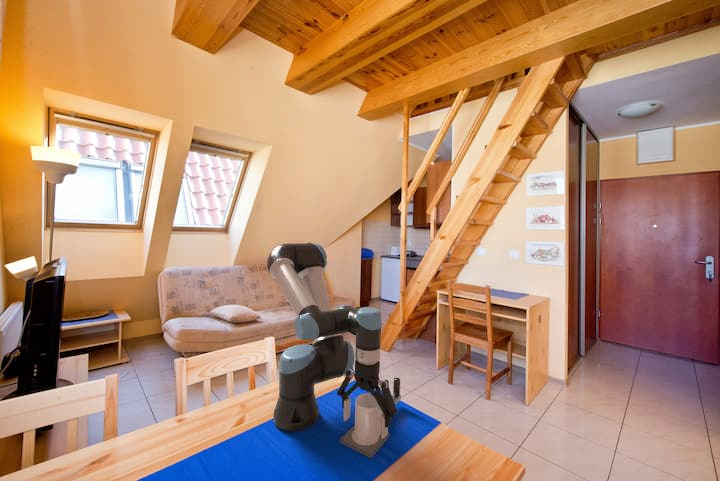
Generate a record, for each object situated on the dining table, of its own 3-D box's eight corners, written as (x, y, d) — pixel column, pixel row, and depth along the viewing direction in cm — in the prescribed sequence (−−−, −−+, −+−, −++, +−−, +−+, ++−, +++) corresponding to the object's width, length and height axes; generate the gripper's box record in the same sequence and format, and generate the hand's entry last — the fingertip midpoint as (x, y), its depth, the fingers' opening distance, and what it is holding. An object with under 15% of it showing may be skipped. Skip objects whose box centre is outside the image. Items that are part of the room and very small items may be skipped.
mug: (380, 452, 90) (382, 417, 89) (352, 449, 90) (353, 415, 90) (381, 425, 101) (382, 394, 101) (355, 423, 102) (356, 392, 101)
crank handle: (372, 419, 102) (373, 396, 102) (394, 397, 116) (395, 376, 115) (379, 422, 101) (380, 398, 101) (400, 399, 115) (401, 378, 114)
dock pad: (340, 442, 95) (340, 438, 95) (359, 423, 104) (359, 419, 104) (371, 458, 89) (371, 453, 89) (389, 436, 98) (389, 432, 98)
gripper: (327, 353, 99) (325, 418, 100) (399, 377, 85) (396, 451, 87) (341, 345, 105) (339, 406, 106) (410, 366, 91) (407, 436, 93)
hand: (364, 426), depth 96 cm, fingers open, 13 cm apart
